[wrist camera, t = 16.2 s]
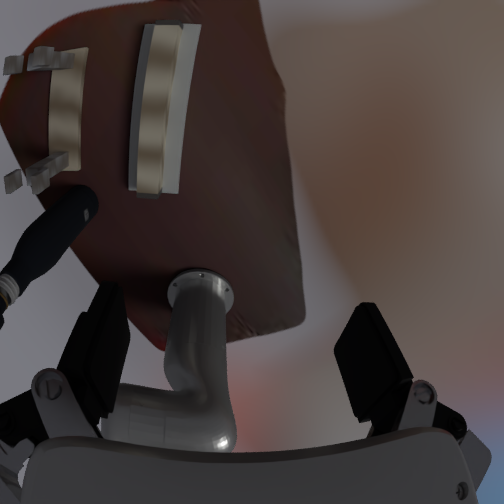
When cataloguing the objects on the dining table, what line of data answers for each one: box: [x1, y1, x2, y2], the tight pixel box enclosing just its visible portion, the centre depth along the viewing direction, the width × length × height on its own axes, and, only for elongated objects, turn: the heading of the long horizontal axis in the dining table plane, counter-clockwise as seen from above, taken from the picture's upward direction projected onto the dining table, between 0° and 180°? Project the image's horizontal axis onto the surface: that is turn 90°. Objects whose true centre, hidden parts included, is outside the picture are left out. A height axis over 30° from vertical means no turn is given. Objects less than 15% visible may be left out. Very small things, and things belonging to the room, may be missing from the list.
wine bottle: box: [0, 185, 98, 329], centre depth 28 cm, size 6×6×30 cm
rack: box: [3, 46, 88, 194], centre depth 26 cm, size 20×6×13 cm, turn 170°
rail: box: [137, 20, 184, 199], centre depth 32 cm, size 26×3×3 cm, turn 170°
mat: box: [129, 24, 201, 194], centre depth 34 cm, size 26×8×1 cm, turn 170°
